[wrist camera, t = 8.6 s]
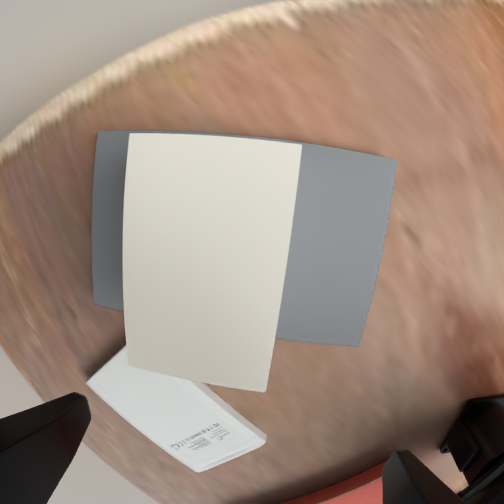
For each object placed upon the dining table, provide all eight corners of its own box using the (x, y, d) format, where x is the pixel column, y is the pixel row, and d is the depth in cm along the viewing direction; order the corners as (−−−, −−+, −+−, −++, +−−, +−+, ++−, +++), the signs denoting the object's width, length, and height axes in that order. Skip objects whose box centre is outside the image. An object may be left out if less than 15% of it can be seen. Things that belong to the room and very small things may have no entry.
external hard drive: (147, 322, 20) (267, 430, 22) (93, 373, 22) (199, 462, 23) (138, 333, 19) (266, 445, 20) (83, 384, 20) (195, 475, 22)
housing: (180, 146, 16) (129, 133, 10) (294, 156, 15) (302, 144, 10) (170, 311, 18) (128, 365, 12) (271, 327, 18) (265, 392, 12)
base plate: (391, 161, 16) (415, 158, 12) (355, 339, 18) (367, 370, 15) (106, 132, 17) (73, 126, 13) (101, 298, 20) (73, 319, 16)
